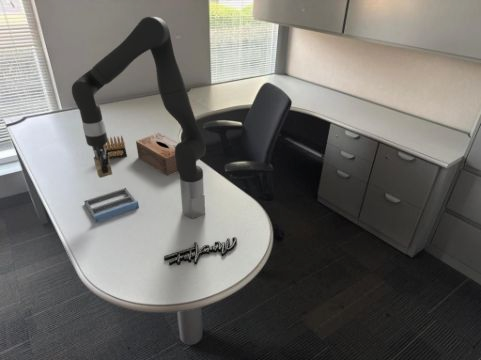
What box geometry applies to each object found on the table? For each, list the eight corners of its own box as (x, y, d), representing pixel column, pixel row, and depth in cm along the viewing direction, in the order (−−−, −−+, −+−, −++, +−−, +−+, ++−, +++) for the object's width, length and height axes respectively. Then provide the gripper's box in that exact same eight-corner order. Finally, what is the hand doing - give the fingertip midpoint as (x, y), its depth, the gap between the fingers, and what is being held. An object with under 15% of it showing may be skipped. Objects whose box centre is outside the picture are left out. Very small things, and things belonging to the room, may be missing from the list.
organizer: (138, 207, 144) (138, 201, 142) (95, 222, 135) (94, 216, 133) (126, 190, 154) (125, 185, 152) (85, 203, 145) (83, 198, 143)
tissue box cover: (190, 165, 175) (189, 148, 169) (168, 176, 166) (166, 158, 160) (160, 149, 189) (159, 132, 184) (138, 157, 180) (135, 141, 175)
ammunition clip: (126, 154, 182) (123, 134, 176) (127, 156, 181) (123, 136, 174) (105, 157, 179) (101, 137, 172) (105, 159, 177) (101, 138, 171)
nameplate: (231, 230, 131) (242, 247, 124) (231, 233, 132) (242, 250, 125) (161, 251, 121) (169, 271, 113) (162, 255, 122) (170, 274, 114)
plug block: (112, 174, 137) (108, 157, 133) (99, 177, 135) (95, 160, 131) (110, 171, 139) (106, 154, 135) (97, 174, 137) (93, 157, 133)
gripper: (111, 135, 124) (119, 175, 133) (99, 123, 134) (108, 161, 143) (90, 140, 120) (100, 181, 130) (79, 127, 130) (89, 166, 139)
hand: (104, 170), depth 136 cm, fingers closed on plug block, 3 cm apart
